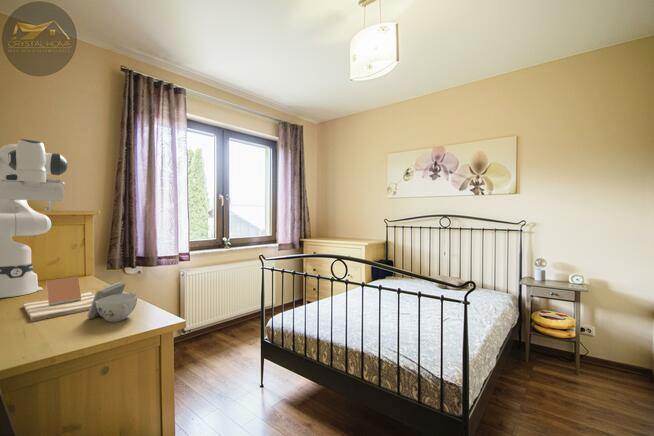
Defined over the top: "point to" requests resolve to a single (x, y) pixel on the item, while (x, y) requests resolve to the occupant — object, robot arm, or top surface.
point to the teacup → (116, 306)
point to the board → (57, 307)
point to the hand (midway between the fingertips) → (32, 211)
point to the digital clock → (105, 292)
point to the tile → (63, 290)
